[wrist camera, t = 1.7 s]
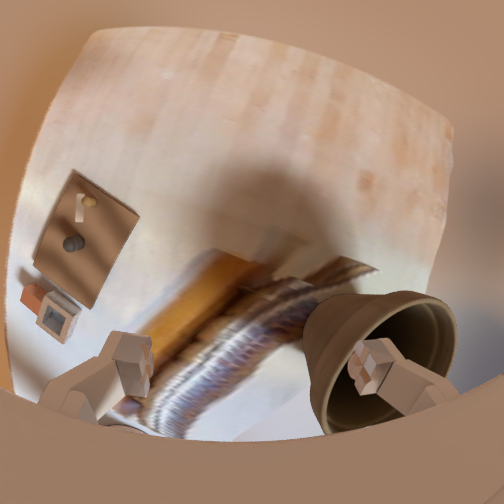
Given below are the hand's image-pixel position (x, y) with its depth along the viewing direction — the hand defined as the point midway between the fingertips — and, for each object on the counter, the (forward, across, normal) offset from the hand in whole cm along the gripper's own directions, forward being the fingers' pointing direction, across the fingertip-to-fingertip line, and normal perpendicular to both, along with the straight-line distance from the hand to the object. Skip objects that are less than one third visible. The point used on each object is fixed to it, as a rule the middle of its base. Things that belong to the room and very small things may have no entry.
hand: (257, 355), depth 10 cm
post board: (+32, -25, -8) cm, 41 cm away
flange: (+28, -32, -20) cm, 47 cm away
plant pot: (+32, +22, -23) cm, 45 cm away
